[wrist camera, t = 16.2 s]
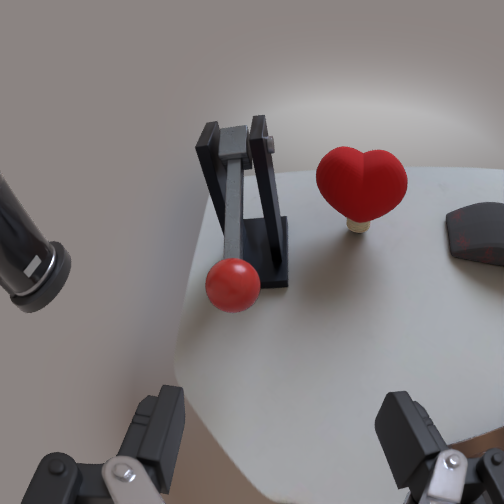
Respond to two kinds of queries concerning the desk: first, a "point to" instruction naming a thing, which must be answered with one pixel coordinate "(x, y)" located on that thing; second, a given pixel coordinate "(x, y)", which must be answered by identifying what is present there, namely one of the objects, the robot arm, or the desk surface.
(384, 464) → the desk surface
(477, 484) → the robot arm
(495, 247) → the computer mouse
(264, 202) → the bracket
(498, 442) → the button block
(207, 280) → the lever
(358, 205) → the light bulb
